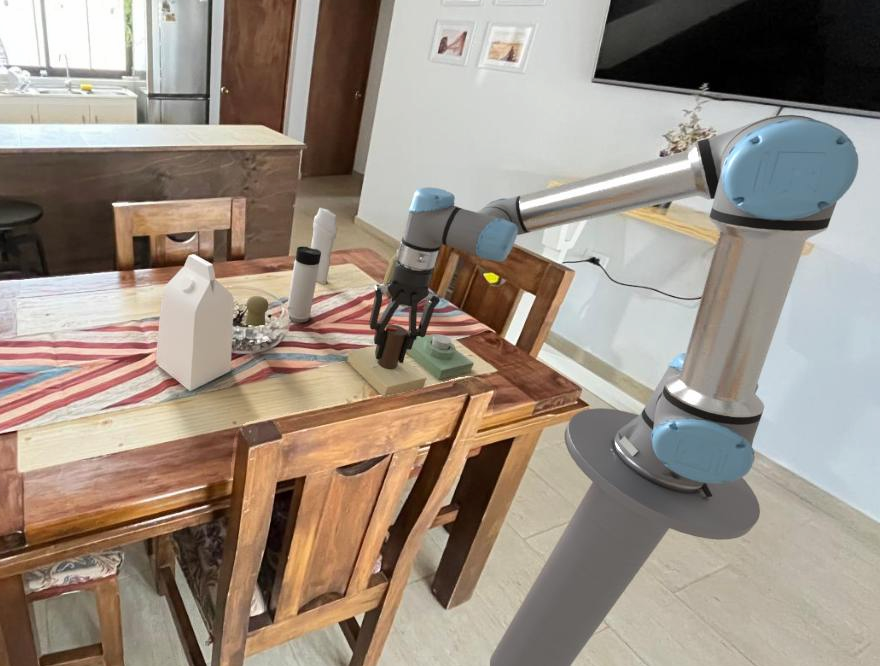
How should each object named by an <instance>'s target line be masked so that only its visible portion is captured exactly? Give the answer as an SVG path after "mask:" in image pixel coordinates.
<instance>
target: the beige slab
mask: <svg viewBox="0 0 880 666" xmlns="http://www.w3.org/2000/svg"><path fill="white" fill-rule="evenodd" d="M376 346H377V345H376V344H375V345H371V346H366V347H361V348H356V349H351V350H349V351H348V355H347V359H346V362H347V363H348V364H349V365H350V366H351V367H352V368H353V369H354V370H356V372H357V373H359V375H361V376H362V378H364V380H365V381H366V382H367V383H368V384H369V385H370V386H372V388H373V389H374V390H375V391H376V392H378V394H379V395H380V396H382V397H383V396H387V395H392V394H397V393H402V392H406V393H408V392H407V391H411V390H415V391H418V390H417V389H419V390H422V388H423V389H424V387H425V384H426V381H427V376H426V375H424V374H423V373H422V372H421V371H420V370H419V369H417V368H416V367H415V366H414V365H412V363H410V362H409V361H408V360H407V359H405V358H404V361H403V363H399V361H398V364H397V367H396V368H395V369H386V368H383V367H381V366H380V365H379V364H378V362H377V360H378V359H376V356H375V350H376ZM411 392H412V391H411ZM402 394H403V393H402Z"/></svg>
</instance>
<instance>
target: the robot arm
mask: <svg viewBox="0 0 880 666" xmlns="http://www.w3.org/2000/svg"><path fill="white" fill-rule="evenodd" d="M858 170H859V154H858V152H857V150H856V147H855V144H854V142H853V141H852V140H851V138H849V137H848V135H847V134H846V133H845V132H844V131H843V130H841V129H840V128H838V127H836V126H834V125H832V124H830V123H828V122H824V121H821V120H818V119H814V118H812V117H808V116H804V115H797V114H780V115H779V114H778V115H774V116H769V117H765V118H762V119H759V120H756V121H753V122H751V123H748V124H746V125H743V126H741V127H738V128H734V129H732V130H729V131H726V132H723V133H721V134H717V135H713V136H711V137H708V138H704V139H700V140H697V141H694V142H693V144H692V145H691V146H690V147H689V148H688V149H687V150H683V151H681V152H677V153H673V154H669V155H664V156H662V157H658V158H654V159H651V160H647V161H643V162H640V163H636V164H632V165H628V166H623V167H621V168H618V169H614V170H610V171H606V172H601V173H598V174H595V175H591V176H587V177H583V178H579V179H577V180H572V181H568V182H564V183H561V184H558V185H553V186H550V187H546V188H543V189H539V190H536V191H531V192H528V193H524V194H521V195H518V196H513V197H509V198H505V197H504V198H499V199H496V200H492V201H490V202H489V203H488V204H486V205H485V206H483V207H482V208H481V209H479V210H478V211H473V210H469V209H465V208H462V207H459V206H456V205H455V199H456V197H455V195H454V193H452V192H450V191H447V190H446V189H443V188H437V187H431V186H429V187H427V186H426V187H421V188H418V189H417V190H416V191H415V192H414V194H413V197H412V201H411V203H410V206H409V208H408V213H407V217H406V222H405V225H404V229H403V233H402V238H401V241H400V244H399V247H398V249H399V252H398V255H397V259H398V260H397V261H396V263H395V267H394V271H393V275H392V278H391V280H390V282H388V284H387V285H384V284H383V285H380V284H375V285H374V286H373V287H374V288H373V289H374V293H375V295H374V298H373V299H374V300H373V304H372V309H371V313H370V317H369V321H368V323H369V329H371V330H372V331H375V332H374V336H373V342H374V345H375V346H376V345H377V346H376V350H375V356H376V359H380V356H381V352H382V348H383V345H384V341H385V337H386V332H385V330H386V327H387V326H388V325H389V323H390V322H391V320H392V318H393V316H394V314H395V313H396V311H397V310H398V308H399V307H400V306H407V307H408V331H407V334H406V337H405V340H404V344H403V347H402V351H401V354H400V357H399V363H403V361H404V359H405V357H406V355H407V352H406V351H407V349H409V350H411V349H412V346H413V343H414V340H416V339H417V337H425V336H426V335H427V332H428V329H429V326H430V322H431V319H432V316H433V314H434V310H435V308H436V306H438V304H440V302H441V300H440V297H439V295H438V293H437V292H432V291H430V289H429V286H430V284H431V283H430V282H431V279H432V277H433V273H434V268H435V266H436V263H437V259H438V255H439V252H440V249H441V246H442V245H443V246H446V247H449V248H451V249H455V250H458V251H461V252H464V253H467V254H470V255H473V256H476V257H478V258H480V259H483V260H490V261H493V262H498V263H500V262H503V261H505V260H506V259H507V258H508V256H509V254H510V253H511V251H512V250H513V247H514V245H515V242H516V239H517V236H520V235H525V234H529V233H531V232H537V231H540V230H541V231H542V230H546V229H551V228H555V227H560V226H565V225H568V224H569V225H570V224H574V223H578V222H583V221H588V220H592V219H596V218H597V219H598V218H601V217H606V216H611V215H616V214H619V213H625V212H630V211H634V210H638V209H643V208H648V207H652V206H657V205H661V204H667V203H671V202H675V201H681V200H684V199H689V198H694V197H701V198H703V199H705V200H713V202H712V206H711V210H710V214H709V217H708V220H710V222H712V224H713V225H714V226H715V227H716V228H717V229H718V231H719V233H718V236H717V240H716V244H715V247H714V250H713V255H712V258H711V261H710V266H709V269H708V273H707V276H706V278H705V279H706V280H705V283H704V287H703V291H702V294H701V298H700V301H699V303H698V304H699V305H698V309H697V312H696V315H695V319H694V323H693V327H692V330H691V334H690V337H689V341H688V345H687V348H686V351H685V352H683V353H679V354H677V355H676V356H675V357H674V358H673V359H672V361H671V362H670V363H668V364H667V366H668V367H667V369H666V371H665V372H664V373H663V376H662V378H661V379H660V380H659V382H658V384H657V386H656V388H655V389H654V391H653V393H652V394H651V396H650V398H649V400H647V403H646V404H645V406H644V408H643V410H642V411H641V412H640V414H638V415H639V416H638V417H636V418H635V419H633V420H632V421H631V422H629V423H628V424H626V425H625V426H624V427H622V428H621V429H620V430H618V431H617V433H616V434H615V436H614V438H613V439H612V447H613V450H614V452H615V453H616V455H617V456H618V457H619V459H620V460H621V461H622V462H623V463H624V464H625V465H626V466H628V467H629V468H630V469H631V470H633V471H634V472H635V473H637V474H638V475H640V476H641V477H643V478H645V479H646V480H648V481H650V482H652V483H654V484H656V485H659V486H661V487H664V488H666V489H669V490H673V491H676V492H681V493H698V492H701V491H702V490H703V492H704V493H705V495H706V497H712V494H711V492H710V490H709V488H708V486H707V484H708V483H713V484H719V483H723V482H729V481H730V482H732V481H735V480H738V479H740V478H744V477H745V476H746V475H748V473H749V472H750V470H751V469H752V468H753V465H754V462H755V459H756V456H755V454H756V453H755V449H754V447H753V443H754V439H755V436H756V433H757V430H758V428H759V425H760V421H761V419H762V415H763V413H764V410H765V404H764V402H763V401H762V399H761V398H760V397H759V396H758V395H757V394H756V393H757V392H758V389H759V379H760V376H761V373H762V371H763V367H764V365H765V363H766V359H767V357H768V353H769V350H770V347H771V344H772V341H773V339H774V335H775V332H776V330H777V326H778V323H779V320H780V317H781V314H782V312H783V309H784V305H785V303H786V300H787V297H788V294H789V292H790V291H789V290H790V288H791V285H792V282H793V279H794V276H795V273H796V270H797V267H798V265H799V261H800V259H801V255H802V253H803V250H804V247H805V245H806V241H807V240H809V239H810V238H812V237H814V236H816V235H818V234H820V233H823V232H825V231H827V230H828V227H829V226H830V222H831V220H832V216H833V214H834V211H835V208H836V205H837V203H838V201H840V199H842V198H843V196H844V195H845V194H846V193H847V192H848V191H849V190H850V188H851V187H852V185H853V183H854V181H855V180H856V177H857V174H858ZM387 291H389V293H390V295H391V297H390V299H389V302H388V304H387V306H386V307H385V310H383V313H382V315H381V317H379V316H380V312H381V309H382V304H383V297H385V296H386V292H387ZM423 300H426V302H425V305H424V308H423V311H422V314H421V317H420V321H419V323H418V327H417V322H418V321H417V317H418V304H419V303H420V302H421V301H423ZM379 318H380V319H379Z"/></svg>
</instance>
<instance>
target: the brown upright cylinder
mask: <svg viewBox="0 0 880 666" xmlns="http://www.w3.org/2000/svg"><path fill="white" fill-rule="evenodd" d="M385 332H386V337H385V341H384V345H383V348H382V352H381V356H380V359H378V360H377V362H378V364H379V365H380V366H381V367H383V368H386V369H395V368H396V367H397V364H398V361H399V357H400V354H401V351H402V347H403V344H404V340H405V337H406V334H407V332H408V331H407V329H406V328H404V327H403V326H400V325H397V324H388V325H387V326H386V328H385Z"/></svg>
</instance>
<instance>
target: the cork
mask: <svg viewBox="0 0 880 666" xmlns="http://www.w3.org/2000/svg"><path fill="white" fill-rule="evenodd" d="M268 309H269V301H268V300H267V298H265V297H263V296H261V295H252V296H250V297H249V298H248V299H247V300H246V310H247V312H246V316H245V320H244V323H246V324H247V325H254V326H259V325H265V326H266V313H267V311H268Z"/></svg>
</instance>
